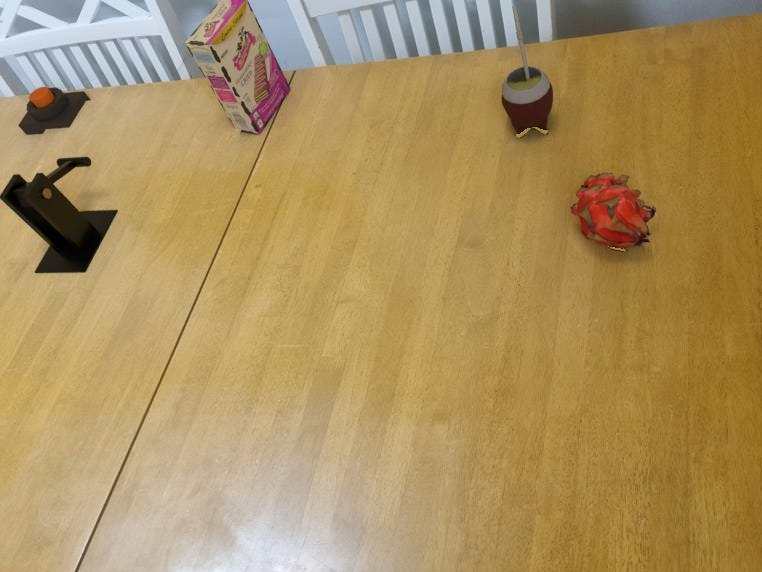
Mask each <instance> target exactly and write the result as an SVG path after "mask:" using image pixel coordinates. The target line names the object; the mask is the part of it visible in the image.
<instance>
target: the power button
mask: <svg viewBox="0 0 762 572" xmlns="http://www.w3.org/2000/svg"><path fill="white" fill-rule="evenodd" d="M48 88H49V87H47V86H40V87H38V88H36V89H34V90H33V91H32V92H31V93H30V94H29V96H28V99H29V101H30V100H31V102H32V103H33V104H34V105H35V106H36V107H37V108H42V107H44V106H47V105H48V104H50V103H51V102H52V101H53V100H54V98H55V96H54V95H53V94H52V92H51V91H50V90H49V89H48Z"/></svg>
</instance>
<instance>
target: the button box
mask: <svg viewBox="0 0 762 572" xmlns="http://www.w3.org/2000/svg"><path fill="white" fill-rule="evenodd" d="M47 88H48V89H49V90H50V91H51V92H52V94H53V95H54V96H55V98H54V100H53V101H52V102H51V103H50V104H48V105H47V106H44V107H42V108H37V107H36V106H35V105H34V104H33V103H32V102H31V100H30V99H29V100H28V102H27V104H26V113H25V114H24V116H23V117H22V119H21V120H20V122H19V124H18V125H17V126H18V128H20V130H21V131H22V132H23V133H24V134H26V136H32V135H33V136H34V135H43V134H44V133H45V131H46V130H55V129H69V128H70V127H71V126H72V125H73V123H74V121H75V119H76V118H77V117H78V115H79V113H80V111H81V109H82V108H83V106H84V105H85V103H86V102H91V101H92V99H91V98H90V97H89V95H88V94H87V93H86V92H85V91H84V90H82V91H70V92H64V91H63V90H62V89H60V88H58V87H57V86H56V87H55V86H54V87H47Z"/></svg>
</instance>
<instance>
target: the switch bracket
mask: <svg viewBox="0 0 762 572" xmlns="http://www.w3.org/2000/svg"><path fill="white" fill-rule="evenodd" d="M46 176H47V175H46V174H44V173H43V172H36V174H35V175H34V177H33V178H32V179H31V181H30V182H31V183H30V185H29V186H28V188H27V190H26V191H25V193H24V194H23V196H22V197H23V198H24V199H25V200H26V201H27V202H28V203H30V204H31V205H32V206H30V207H22V206H21V205H20V203H19V202H18V200H17V198H16V197H15V195H14V193H13V191H14V190H15V189H17V188H18V187H20V186H21V185H23V184H24V183H25V182H27V180H26V179H24V177H22V175H21V174H20V173H15V174H13V175H12V176H11V178H10V179H9V181H8V182H7V184H6V186H5V187H4V189H3V190H2V191H1V193H0V200H1V201H2V202H3V203H4V204H5V205H6V206H7V207H8V208H9V209H10V210H11V211H12V212H14V214H16V216H17V217H19V219H20V220H22V221H23V222H24V223H25V224H26V225H27V226H29V228H30V229H32V230H33V232H35V234H37V235H38V236H39V237H40V238H41V239H42V240H43V241H44V242H46V243H47V244H48V247H47V249H46V250H45V252H44V255H43V256H42V258H41V259H40V261H39V263H38V265H37V267H36V268H35V270H34V274H83V273H86V272H87V271H88V269H89V267H90V265H91V263H92V261H93V260H94V257H95V255H96V254H97V252H98V250H99V248H100V246H101V244H102V243H103V240H104V239H105V237H106V235H107V233H108V231H109V229H110V227H111V225H112V224H113V222H114V220H115V218H116V215H118V212H119V210H118V209H105V210H104V209H102V210H101V209H100V210H99V209H98V210H79V209H78V208H77V207H76V206H75V205H74V204H73V203H72V202H71V201H70V200H69V199H68V198H67V196H66V195H64V193H63V192H62V191H60V189H59V188H58V187H57V186H56V185H55V183H54V184H53V183H52V182H51V181H50V180H49V179H48V178H47V177H46Z"/></svg>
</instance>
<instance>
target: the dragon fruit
mask: <svg viewBox="0 0 762 572" xmlns="http://www.w3.org/2000/svg"><path fill="white" fill-rule="evenodd" d="M629 179H630V176H629V175H628V174H625V173H624V174H620V176H619V177H618V178H615V175H614V174H613V173H612V172H602V173H598V174H596V175H592V174H591V175H590V176H588V177H586V179H585V180H583V184H582V185H580V187H579V189H578V190H576V192H575V196H576V197H577V198H578V201H577V202H576V203H573V204H572V205H571V206H570V211H571V214H572V215H574V216H575V217H578V219H579V223H580V232H581V234H582V235H583V237H584V238H585V239H586V240H587V239H588V240H587V241H591V240H594V241H595V243H598V244H599V245H602V246H604V245H605V246H609V247H615V248H621V249H623V248H625V249H626V248H628V247H629V248H630V247H636V246H638V247H639V248H641V247H643V245H644V244H645V243H646V244H647V243H651V241H650V239H649V238H648V236H652V233H650V230H649V229H650V228H649V225H648V224H647V223H649V221H650V220H652V219H653V218H654V217H655V215H656V213H657V207H656V206H654V205H652V207H651V206H650V205H647V204H646V203H645V201H644V200H642V199H639V197H640V196H641V194H642V191H641V190H639V189H638V188H637V189H631V188H629V186H628V181H629ZM589 239H590V240H589ZM605 246H604V247H605ZM609 247H608V248H609Z"/></svg>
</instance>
